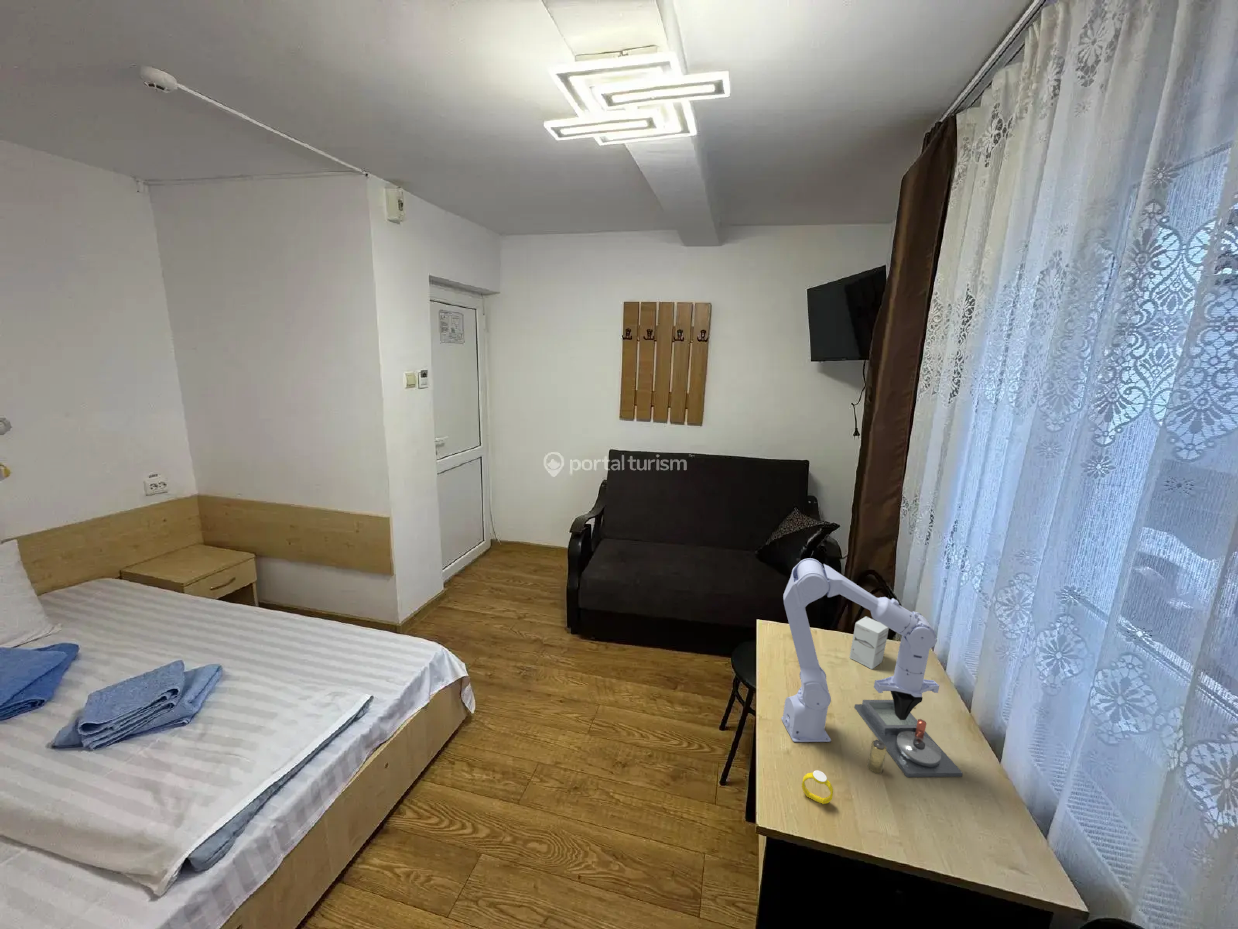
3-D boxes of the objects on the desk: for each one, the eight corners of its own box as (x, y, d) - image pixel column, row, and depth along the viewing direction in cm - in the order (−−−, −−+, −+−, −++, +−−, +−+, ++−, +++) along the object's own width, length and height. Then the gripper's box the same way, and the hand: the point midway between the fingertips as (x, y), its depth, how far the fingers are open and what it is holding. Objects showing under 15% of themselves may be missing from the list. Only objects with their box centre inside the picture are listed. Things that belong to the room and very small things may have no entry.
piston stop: (872, 773, 107) (876, 749, 106) (864, 762, 110) (869, 738, 109) (884, 773, 108) (889, 749, 106) (877, 762, 110) (881, 738, 109)
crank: (940, 773, 107) (945, 752, 106) (894, 754, 112) (898, 734, 110) (939, 747, 114) (944, 727, 113) (897, 730, 119) (900, 711, 118)
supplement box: (848, 658, 150) (854, 622, 148) (859, 650, 155) (865, 615, 152) (872, 670, 145) (878, 633, 142) (883, 662, 149) (889, 625, 147)
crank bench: (906, 777, 107) (909, 762, 106) (854, 707, 128) (856, 694, 127) (961, 776, 108) (965, 761, 107) (900, 707, 129) (902, 694, 128)
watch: (830, 801, 100) (836, 778, 99) (828, 811, 98) (835, 788, 97) (801, 786, 103) (806, 764, 102) (798, 796, 101) (804, 773, 99)
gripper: (891, 677, 105) (881, 730, 108) (953, 677, 106) (941, 729, 109) (872, 658, 112) (863, 708, 115) (930, 658, 113) (920, 707, 116)
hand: (900, 717), depth 112 cm, fingers closed
